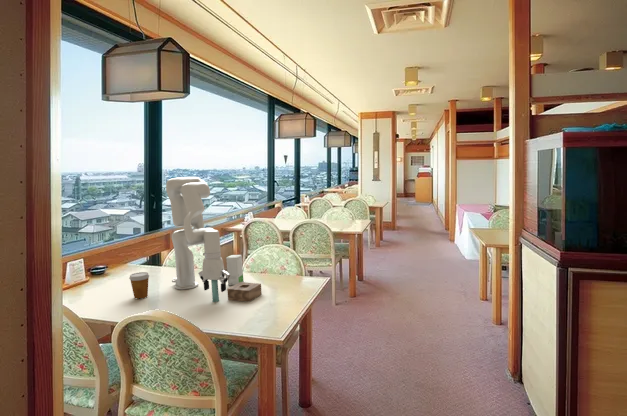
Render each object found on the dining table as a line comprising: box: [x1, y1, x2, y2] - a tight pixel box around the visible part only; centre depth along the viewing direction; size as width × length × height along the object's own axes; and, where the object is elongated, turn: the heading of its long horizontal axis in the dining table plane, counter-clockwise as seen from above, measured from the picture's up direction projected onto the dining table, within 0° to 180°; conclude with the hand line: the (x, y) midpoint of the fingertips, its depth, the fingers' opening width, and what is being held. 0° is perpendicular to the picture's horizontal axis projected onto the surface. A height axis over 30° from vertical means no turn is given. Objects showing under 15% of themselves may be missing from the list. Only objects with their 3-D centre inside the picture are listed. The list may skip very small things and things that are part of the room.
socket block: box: [226, 281, 263, 303], centre depth 207 cm, size 12×12×6 cm
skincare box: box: [225, 254, 244, 286], centre depth 232 cm, size 8×7×16 cm
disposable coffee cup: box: [128, 271, 150, 300], centre depth 213 cm, size 10×10×12 cm
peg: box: [210, 280, 220, 303], centre depth 202 cm, size 3×3×12 cm
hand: (215, 290), depth 202 cm, fingers open, 9 cm apart
